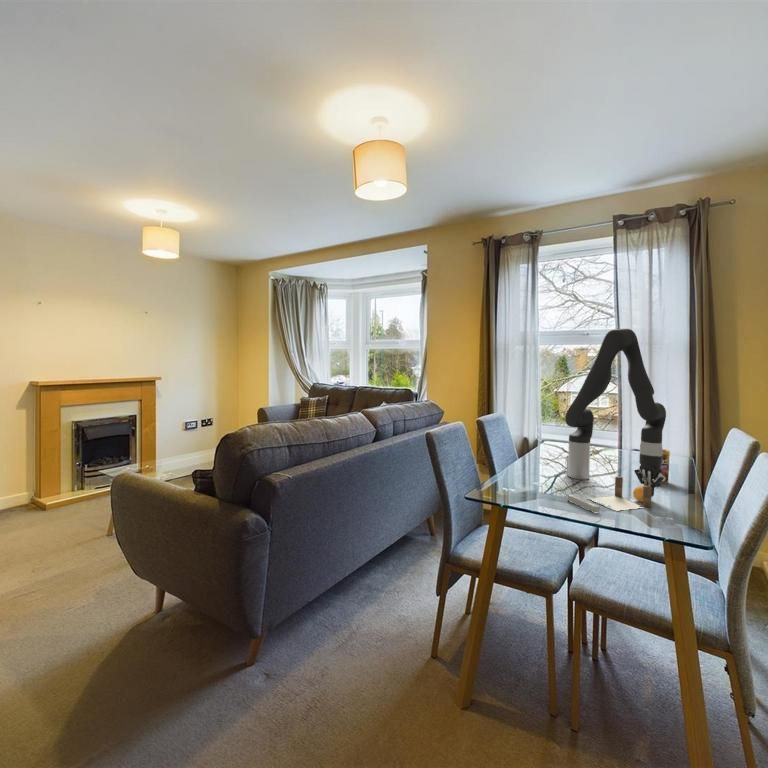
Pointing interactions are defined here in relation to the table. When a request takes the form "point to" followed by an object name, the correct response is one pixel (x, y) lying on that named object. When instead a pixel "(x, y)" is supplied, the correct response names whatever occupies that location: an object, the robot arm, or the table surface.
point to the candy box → (665, 464)
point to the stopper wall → (583, 503)
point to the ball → (638, 493)
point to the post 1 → (618, 486)
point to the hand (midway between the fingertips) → (649, 496)
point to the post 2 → (647, 496)
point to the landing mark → (617, 503)
